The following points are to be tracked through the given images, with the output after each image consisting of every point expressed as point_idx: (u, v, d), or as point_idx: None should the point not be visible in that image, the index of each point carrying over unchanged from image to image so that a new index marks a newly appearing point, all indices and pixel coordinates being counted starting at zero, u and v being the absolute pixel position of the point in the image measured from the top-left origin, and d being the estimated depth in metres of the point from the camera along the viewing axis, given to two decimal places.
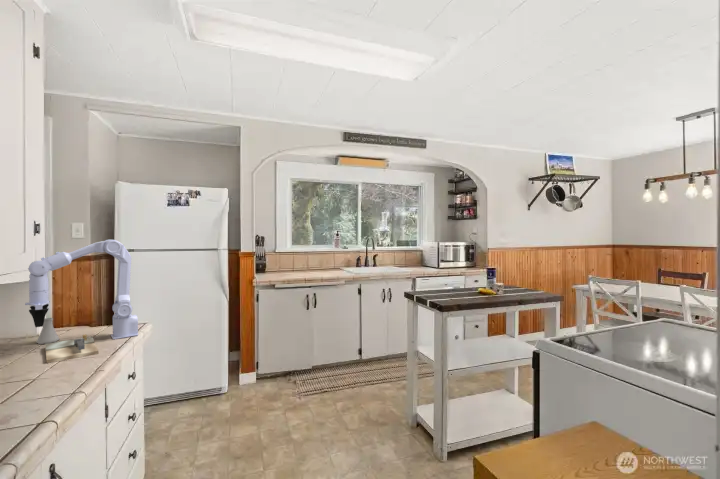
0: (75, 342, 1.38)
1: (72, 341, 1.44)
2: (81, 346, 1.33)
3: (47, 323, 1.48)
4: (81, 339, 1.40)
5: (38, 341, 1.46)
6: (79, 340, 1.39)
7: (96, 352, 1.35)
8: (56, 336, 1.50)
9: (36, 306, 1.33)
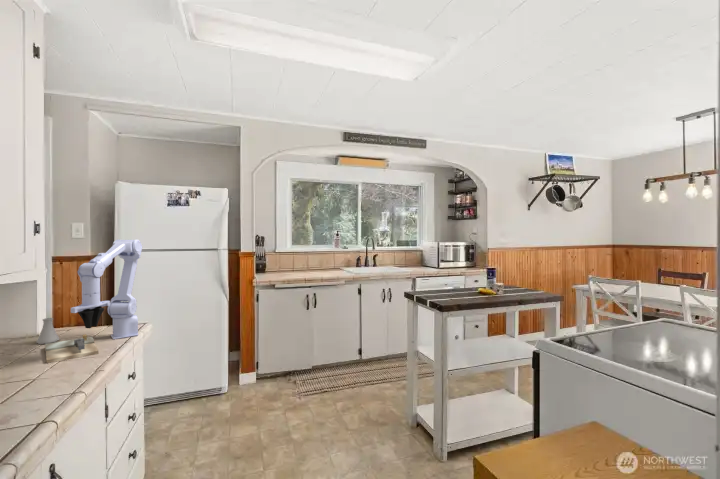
0: (75, 342, 1.38)
1: (72, 341, 1.44)
2: (81, 346, 1.33)
3: (47, 323, 1.48)
4: (81, 339, 1.40)
5: (38, 341, 1.46)
6: (79, 340, 1.39)
7: (96, 352, 1.35)
8: (56, 336, 1.50)
9: (71, 309, 1.31)
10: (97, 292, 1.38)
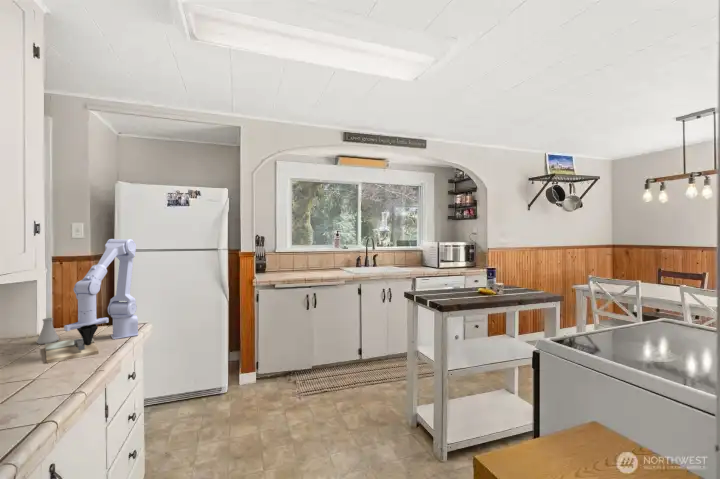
0: (75, 342, 1.38)
1: (72, 341, 1.44)
2: (81, 346, 1.33)
3: (47, 323, 1.48)
4: (81, 339, 1.40)
5: (38, 341, 1.46)
6: (79, 340, 1.39)
7: (96, 352, 1.35)
8: (56, 336, 1.50)
9: (64, 327, 1.31)
10: (93, 309, 1.37)
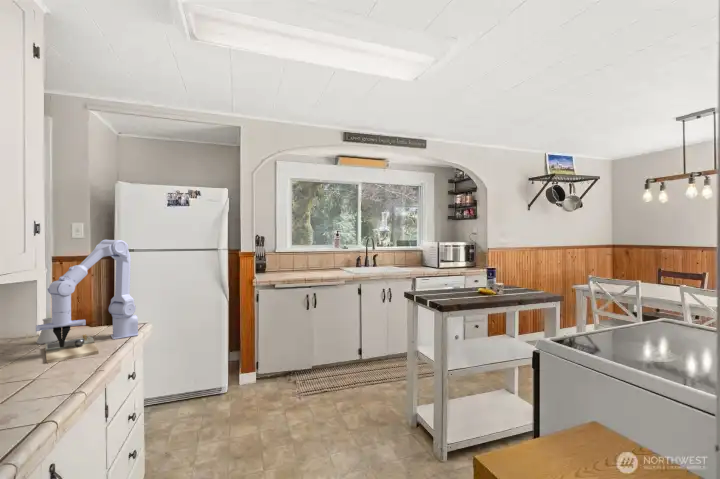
0: None
1: None
2: (47, 345, 1.34)
3: (47, 323, 1.48)
4: (79, 340, 1.39)
5: (38, 341, 1.46)
6: (75, 340, 1.39)
7: (96, 352, 1.35)
8: None
9: (36, 326, 1.31)
10: (64, 311, 1.34)
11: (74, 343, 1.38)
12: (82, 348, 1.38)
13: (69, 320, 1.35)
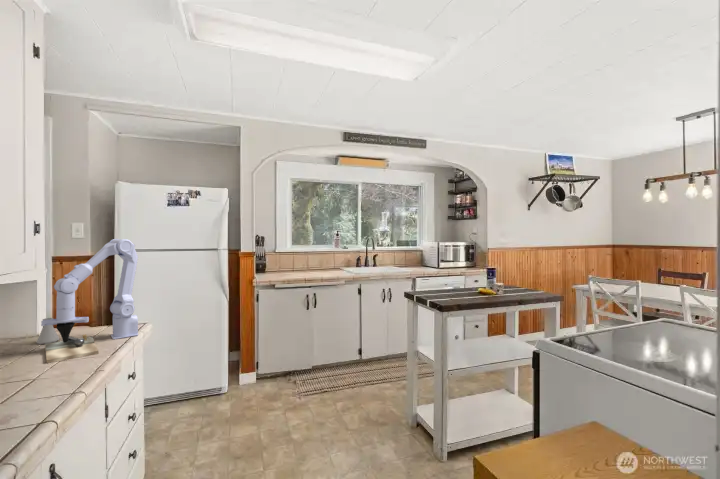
0: None
1: None
2: None
3: None
4: (77, 340, 1.39)
5: (38, 341, 1.46)
6: (77, 339, 1.41)
7: (96, 352, 1.35)
8: (56, 336, 1.50)
9: None
10: (67, 308, 1.38)
11: None
12: (82, 348, 1.38)
13: (72, 317, 1.40)
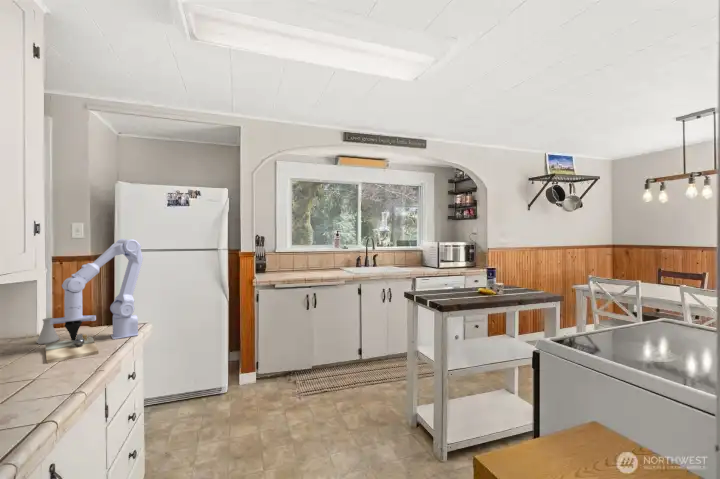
0: None
1: (72, 341, 1.44)
2: None
3: (47, 323, 1.48)
4: (77, 340, 1.40)
5: (38, 341, 1.46)
6: (79, 339, 1.41)
7: (96, 352, 1.35)
8: (56, 336, 1.50)
9: None
10: (74, 306, 1.41)
11: None
12: (82, 348, 1.38)
13: (79, 315, 1.43)
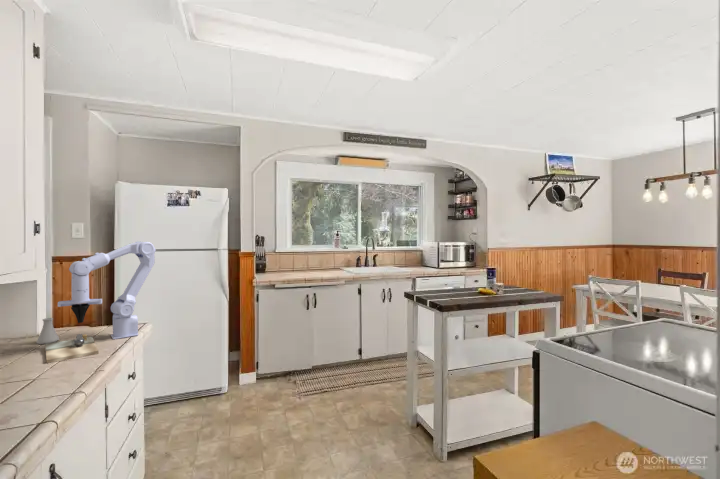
0: None
1: (72, 341, 1.44)
2: None
3: (47, 323, 1.48)
4: (77, 340, 1.40)
5: (38, 341, 1.46)
6: (79, 339, 1.41)
7: (96, 352, 1.35)
8: (56, 336, 1.50)
9: None
10: (81, 289, 1.43)
11: None
12: (82, 348, 1.38)
13: (86, 298, 1.45)
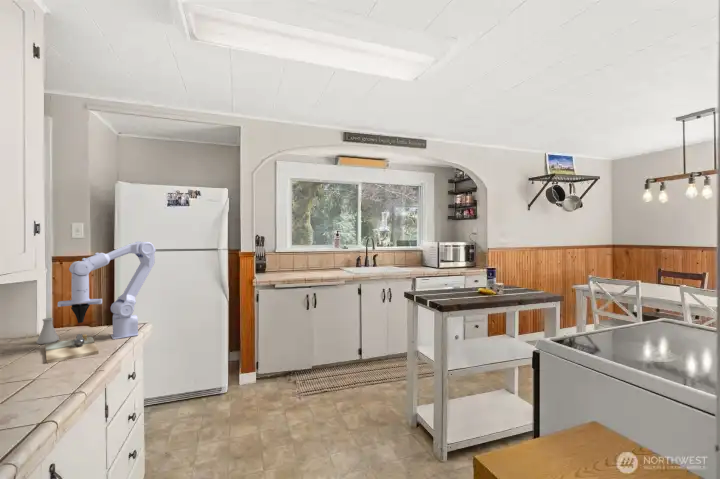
0: None
1: (72, 341, 1.44)
2: None
3: (47, 323, 1.48)
4: (77, 340, 1.40)
5: (38, 341, 1.46)
6: (79, 339, 1.41)
7: (96, 352, 1.35)
8: (56, 336, 1.50)
9: None
10: (81, 289, 1.43)
11: None
12: (82, 348, 1.38)
13: (86, 298, 1.45)
